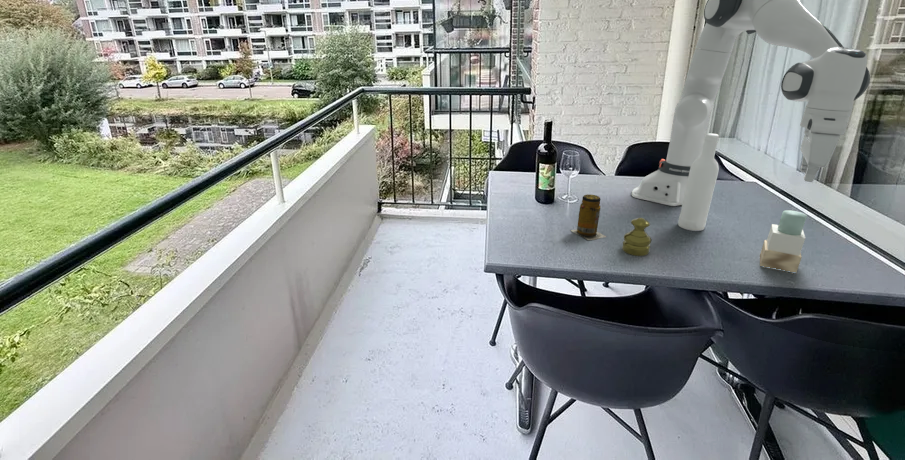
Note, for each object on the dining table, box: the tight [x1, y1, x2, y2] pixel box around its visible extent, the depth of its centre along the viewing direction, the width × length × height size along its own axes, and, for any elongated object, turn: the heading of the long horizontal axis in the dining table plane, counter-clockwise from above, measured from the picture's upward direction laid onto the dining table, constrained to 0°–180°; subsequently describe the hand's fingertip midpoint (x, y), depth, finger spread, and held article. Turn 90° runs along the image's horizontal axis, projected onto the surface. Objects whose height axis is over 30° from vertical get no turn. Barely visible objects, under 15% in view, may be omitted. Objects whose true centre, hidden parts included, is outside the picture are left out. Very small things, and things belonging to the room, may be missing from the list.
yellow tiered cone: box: [621, 217, 653, 257], centre depth 129 cm, size 7×7×10 cm
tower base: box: [759, 239, 803, 274], centre depth 124 cm, size 8×8×5 cm
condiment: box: [569, 194, 607, 241], centre depth 140 cm, size 7×8×12 cm
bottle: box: [677, 132, 720, 232], centre depth 143 cm, size 8×8×30 cm
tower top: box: [766, 223, 806, 256], centre depth 122 cm, size 7×7×5 cm
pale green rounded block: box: [777, 209, 808, 235], centre depth 120 cm, size 5×5×5 cm
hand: (805, 176), depth 115 cm, fingers open, 8 cm apart
